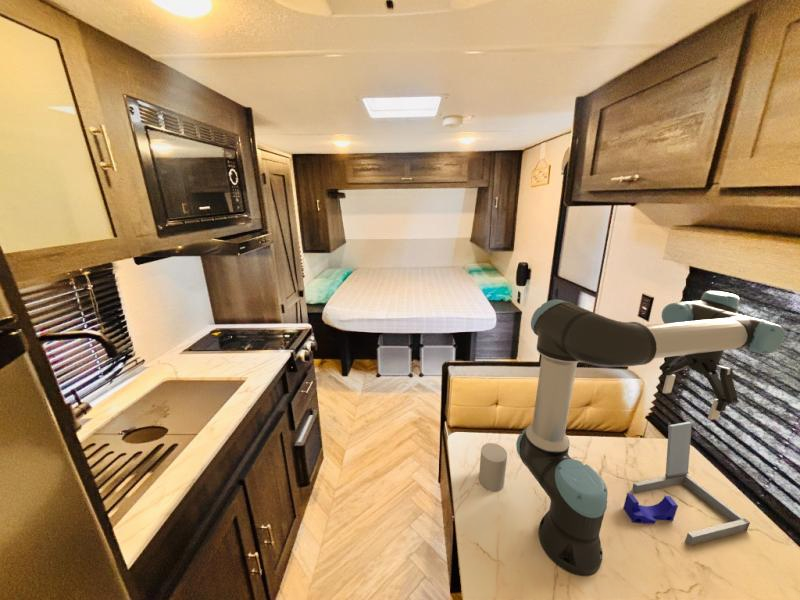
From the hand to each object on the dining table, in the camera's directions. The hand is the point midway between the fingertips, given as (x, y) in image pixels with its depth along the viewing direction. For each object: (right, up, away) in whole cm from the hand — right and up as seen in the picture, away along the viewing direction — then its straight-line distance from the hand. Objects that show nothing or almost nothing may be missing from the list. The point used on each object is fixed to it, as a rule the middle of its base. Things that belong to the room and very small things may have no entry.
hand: (688, 404), depth 97 cm
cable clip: (-17, -32, -6) cm, 36 cm away
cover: (0, -16, +2) cm, 16 cm away
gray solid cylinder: (-61, -28, +6) cm, 67 cm away
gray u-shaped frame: (-5, -30, -4) cm, 31 cm away
